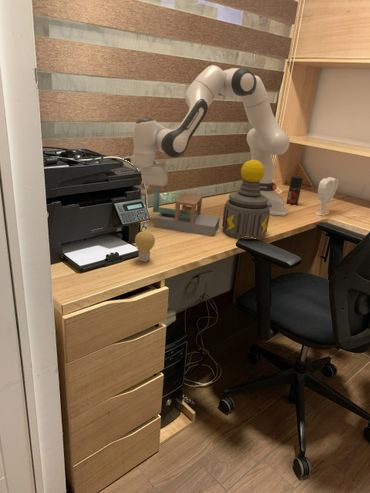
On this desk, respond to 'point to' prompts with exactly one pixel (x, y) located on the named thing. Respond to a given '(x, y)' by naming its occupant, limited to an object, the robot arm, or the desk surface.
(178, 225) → the tunnel deck
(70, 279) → the desk surface
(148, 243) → the light bulb
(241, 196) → the toy power generator
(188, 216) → the sled
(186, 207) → the maple block
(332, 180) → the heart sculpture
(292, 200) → the deodorant
